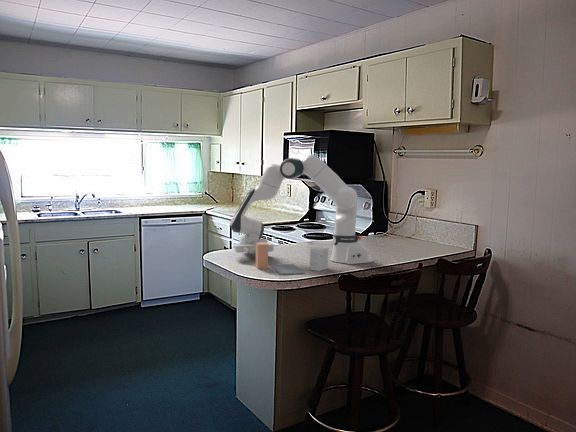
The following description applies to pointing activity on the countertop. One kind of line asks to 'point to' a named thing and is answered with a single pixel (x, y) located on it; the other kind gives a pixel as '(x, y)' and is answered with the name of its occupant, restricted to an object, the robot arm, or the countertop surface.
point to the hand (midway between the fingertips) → (257, 250)
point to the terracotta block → (261, 255)
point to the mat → (287, 269)
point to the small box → (319, 258)
